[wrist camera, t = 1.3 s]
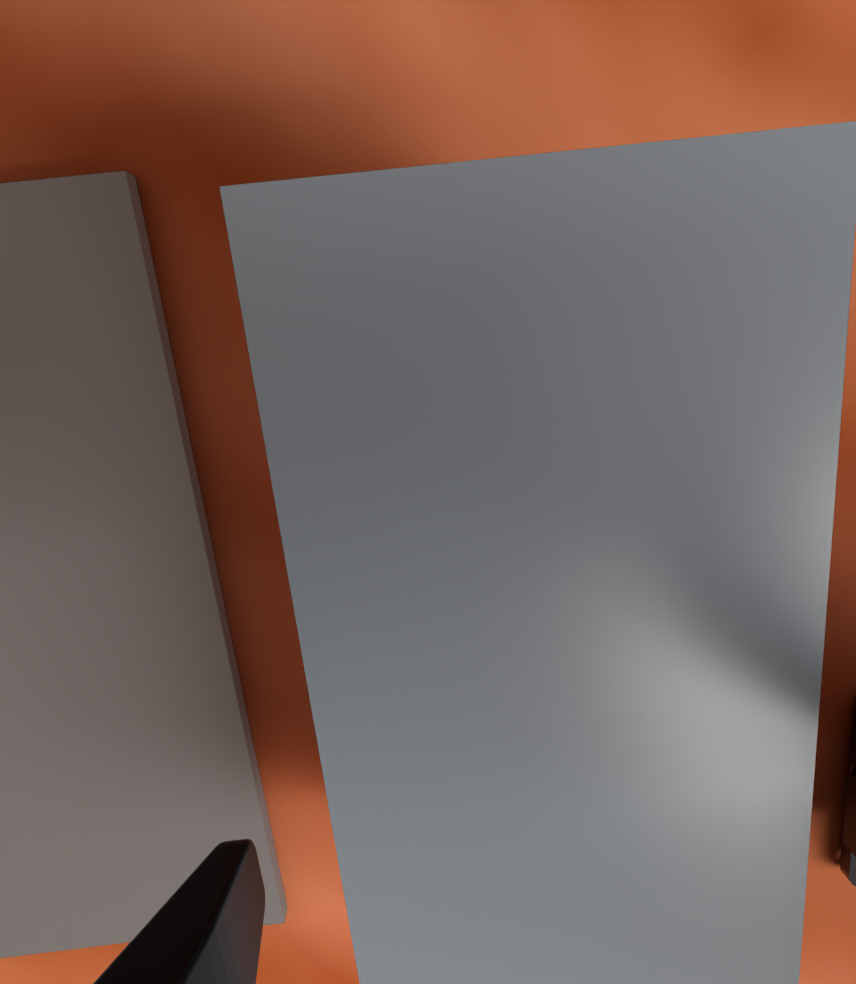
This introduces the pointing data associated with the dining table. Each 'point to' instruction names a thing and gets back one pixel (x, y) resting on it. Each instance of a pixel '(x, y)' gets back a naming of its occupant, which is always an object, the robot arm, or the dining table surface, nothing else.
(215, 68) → the dining table surface
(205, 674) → the rubber mat
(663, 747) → the lid
